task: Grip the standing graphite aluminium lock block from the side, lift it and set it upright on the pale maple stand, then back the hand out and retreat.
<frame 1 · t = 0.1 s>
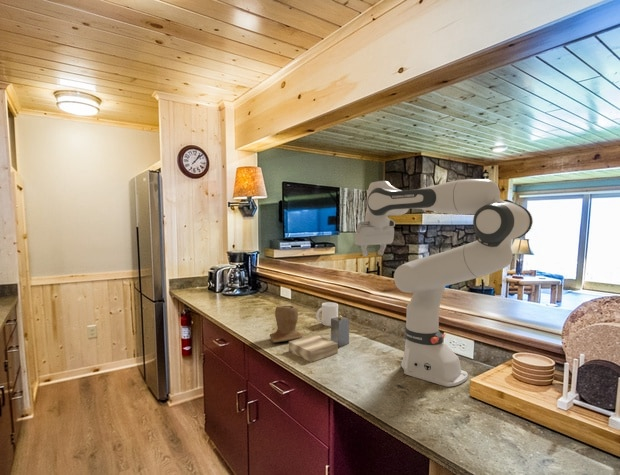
hand: (373, 255, 142), 39 cm above the worktop, tool pointing down, fingers open, 8 cm apart
mug: (326, 325, 178), on the worktop
maple stand: (313, 352, 141), on the worktop
brown piece: (284, 339, 156), on the worktop
lock block: (339, 343, 150), on the worktop
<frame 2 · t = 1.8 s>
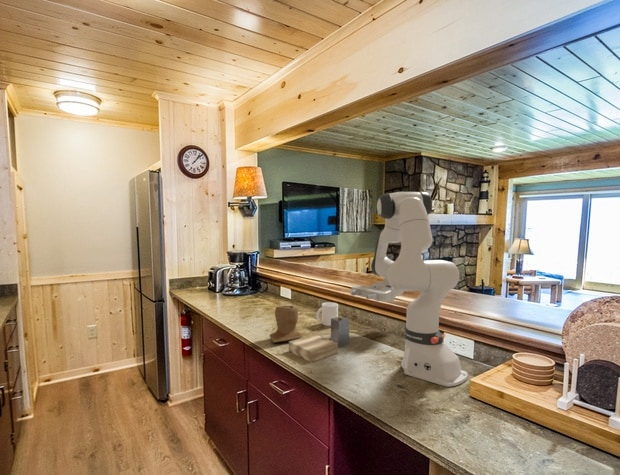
hand: (359, 295, 157), 19 cm above the worktop, tool horizontal, fingers open, 8 cm apart
nothing on the worktop moved.
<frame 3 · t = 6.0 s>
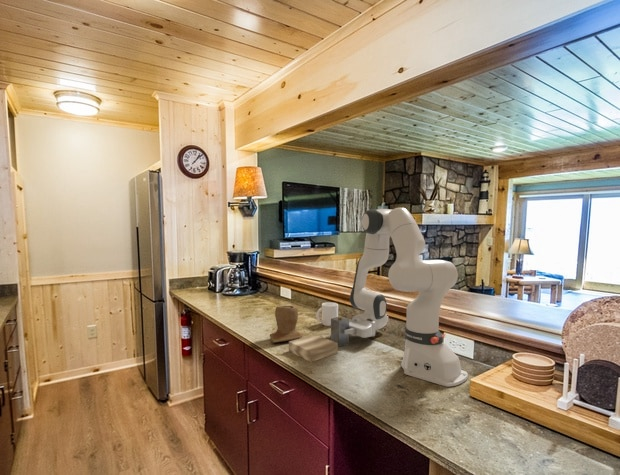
hand: (338, 330, 149), 6 cm above the worktop, tool horizontal, fingers closed on lock block, 5 cm apart
lock block: (339, 343, 150), on the worktop, touching gripper
everything else where it was.
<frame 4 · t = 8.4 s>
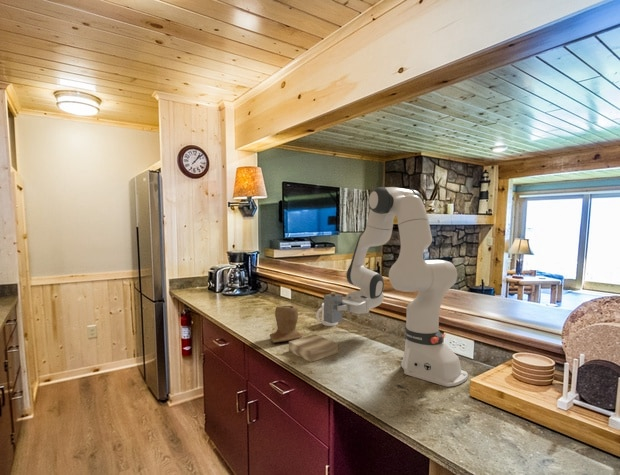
hand: (331, 307, 146), 17 cm above the worktop, tool horizontal, fingers closed on lock block, 5 cm apart
lock block: (333, 320, 147), point 11 cm above the worktop, touching gripper
everything else where it was.
when the fingers open (11 cm above the worktop, at t = 10.9 s): lock block drops 1 cm, resting on maple stand.
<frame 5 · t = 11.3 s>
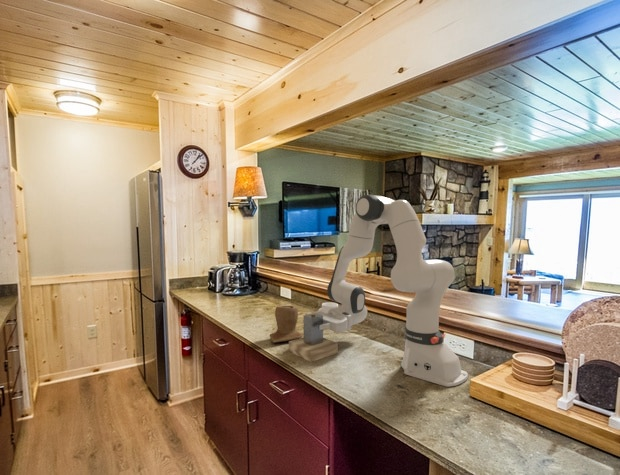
hand: (311, 324, 140), 11 cm above the worktop, tool horizontal, fingers open, 8 cm apart
lock block: (313, 342, 141), point 4 cm above the worktop, touching maple stand
everything else where it was.
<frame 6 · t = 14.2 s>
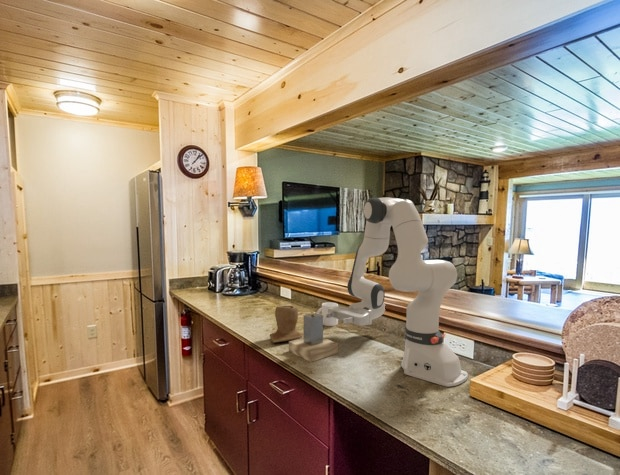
hand: (334, 318, 148), 12 cm above the worktop, tool horizontal, fingers open, 8 cm apart
nothing on the worktop moved.
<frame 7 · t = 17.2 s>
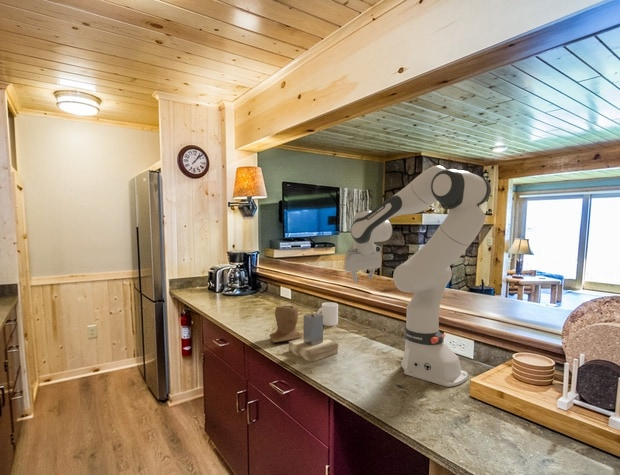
hand: (363, 279, 152), 27 cm above the worktop, tool pointing down, fingers open, 8 cm apart
nothing on the worktop moved.
at the end: lock block inside the target area on the maple stand (0.1 cm from its centre), point 4.0 cm above the maple stand's base; lock block tilted 0°; the gripper is holding nothing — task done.
